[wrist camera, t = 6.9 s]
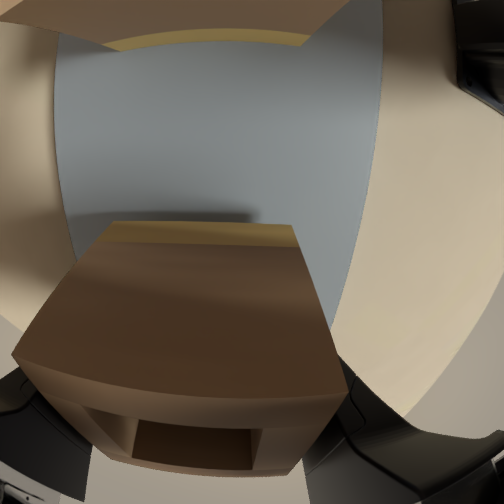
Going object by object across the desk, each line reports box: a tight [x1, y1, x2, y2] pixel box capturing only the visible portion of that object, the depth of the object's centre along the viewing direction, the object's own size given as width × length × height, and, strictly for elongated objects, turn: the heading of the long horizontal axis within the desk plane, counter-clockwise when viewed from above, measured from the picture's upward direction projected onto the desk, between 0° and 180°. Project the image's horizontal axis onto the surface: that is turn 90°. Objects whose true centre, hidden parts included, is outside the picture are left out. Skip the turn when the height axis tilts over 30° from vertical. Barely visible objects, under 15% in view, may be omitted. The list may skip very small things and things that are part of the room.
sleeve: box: [11, 221, 349, 477], centre depth 7 cm, size 6×6×6 cm
